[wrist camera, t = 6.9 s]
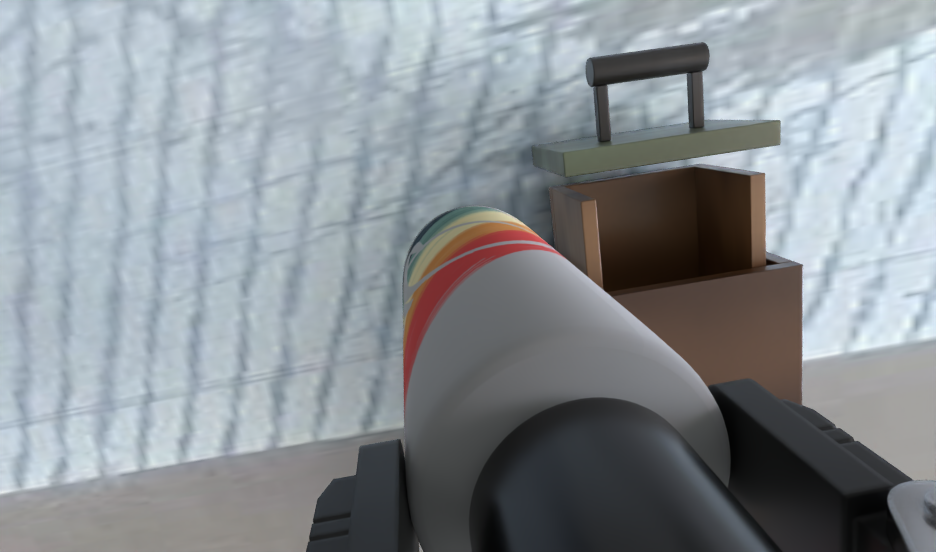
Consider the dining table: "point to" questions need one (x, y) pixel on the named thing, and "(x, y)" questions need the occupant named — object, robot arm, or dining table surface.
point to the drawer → (658, 185)
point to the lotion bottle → (550, 408)
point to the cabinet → (731, 323)
